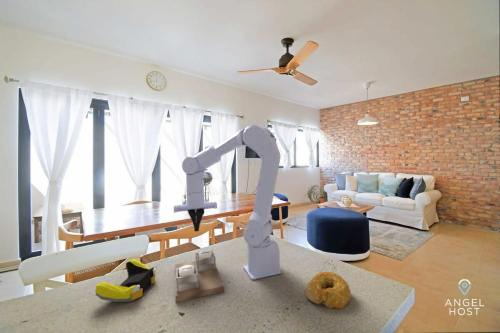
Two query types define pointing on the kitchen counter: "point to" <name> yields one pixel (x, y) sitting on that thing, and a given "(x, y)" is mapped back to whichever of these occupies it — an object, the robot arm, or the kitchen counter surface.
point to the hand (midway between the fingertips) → (196, 230)
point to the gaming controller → (128, 284)
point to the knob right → (205, 254)
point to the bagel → (328, 290)
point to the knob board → (198, 279)
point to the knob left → (186, 270)
